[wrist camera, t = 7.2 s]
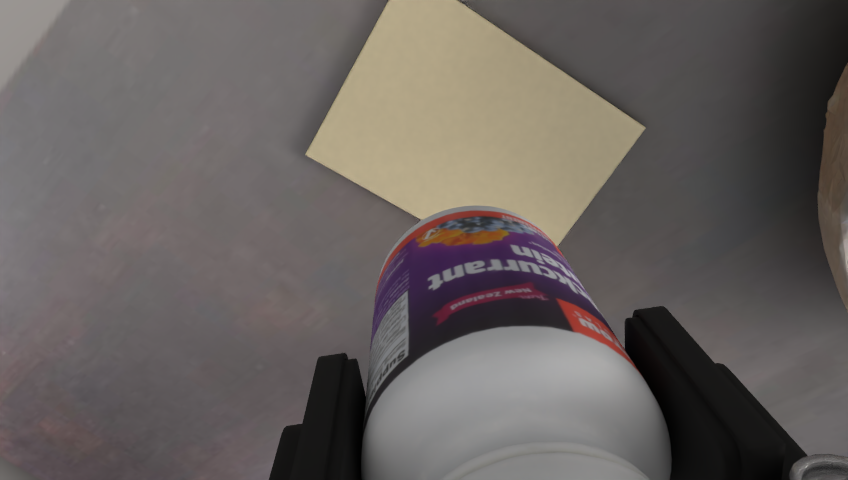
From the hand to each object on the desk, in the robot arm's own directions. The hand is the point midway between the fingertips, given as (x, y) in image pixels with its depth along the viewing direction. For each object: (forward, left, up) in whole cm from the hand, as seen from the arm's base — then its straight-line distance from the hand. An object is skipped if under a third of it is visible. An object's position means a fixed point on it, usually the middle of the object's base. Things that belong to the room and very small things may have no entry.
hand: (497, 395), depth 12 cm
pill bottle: (0, 0, -5) cm, 5 cm away
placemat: (+1, +2, -19) cm, 19 cm away
